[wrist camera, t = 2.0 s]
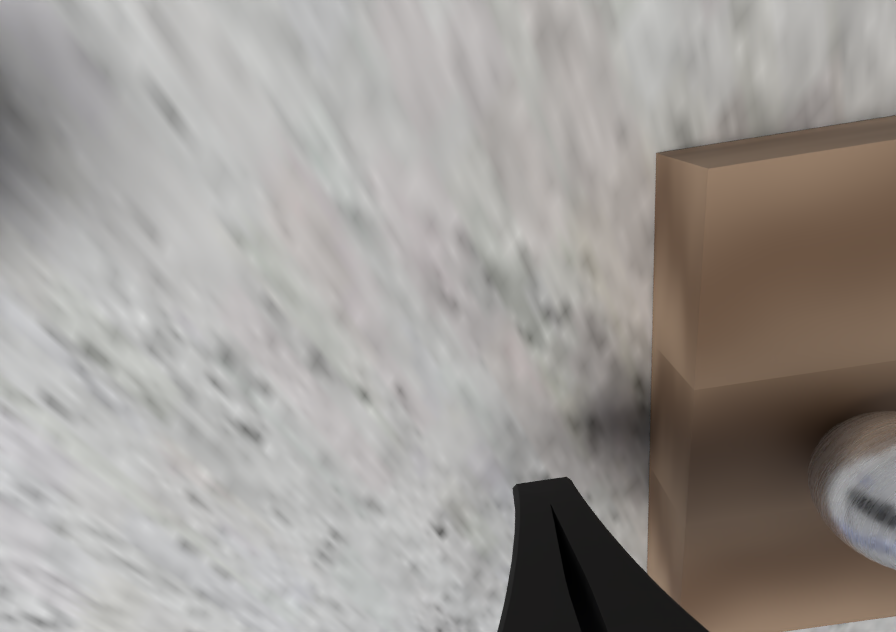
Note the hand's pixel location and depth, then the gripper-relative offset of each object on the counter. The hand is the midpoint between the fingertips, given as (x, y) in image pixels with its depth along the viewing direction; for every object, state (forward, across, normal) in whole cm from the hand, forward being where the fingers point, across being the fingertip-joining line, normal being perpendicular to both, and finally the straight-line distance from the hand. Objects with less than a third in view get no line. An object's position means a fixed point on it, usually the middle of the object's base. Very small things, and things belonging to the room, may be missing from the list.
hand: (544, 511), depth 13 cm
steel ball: (-1, -8, 0) cm, 8 cm away
